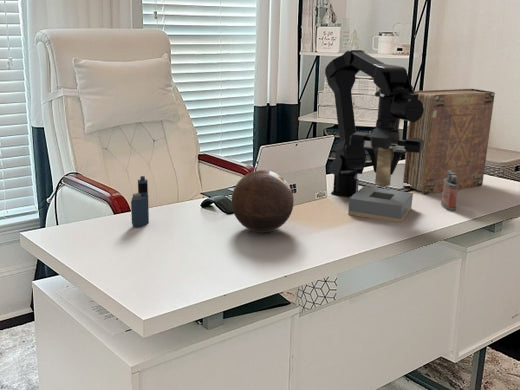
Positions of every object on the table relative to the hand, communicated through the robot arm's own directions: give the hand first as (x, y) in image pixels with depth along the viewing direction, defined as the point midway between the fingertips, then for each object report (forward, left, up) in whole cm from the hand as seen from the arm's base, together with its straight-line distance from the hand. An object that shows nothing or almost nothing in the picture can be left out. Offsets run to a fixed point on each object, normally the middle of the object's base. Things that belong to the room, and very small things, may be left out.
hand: (383, 173), depth 165 cm
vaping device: (-50, -41, -11) cm, 66 cm away
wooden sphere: (-22, -30, -11) cm, 39 cm away
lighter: (+16, +14, -11) cm, 24 cm away
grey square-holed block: (0, 0, -11) cm, 11 cm away
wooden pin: (0, 0, -3) cm, 3 cm away
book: (+11, +36, -11) cm, 39 cm away
